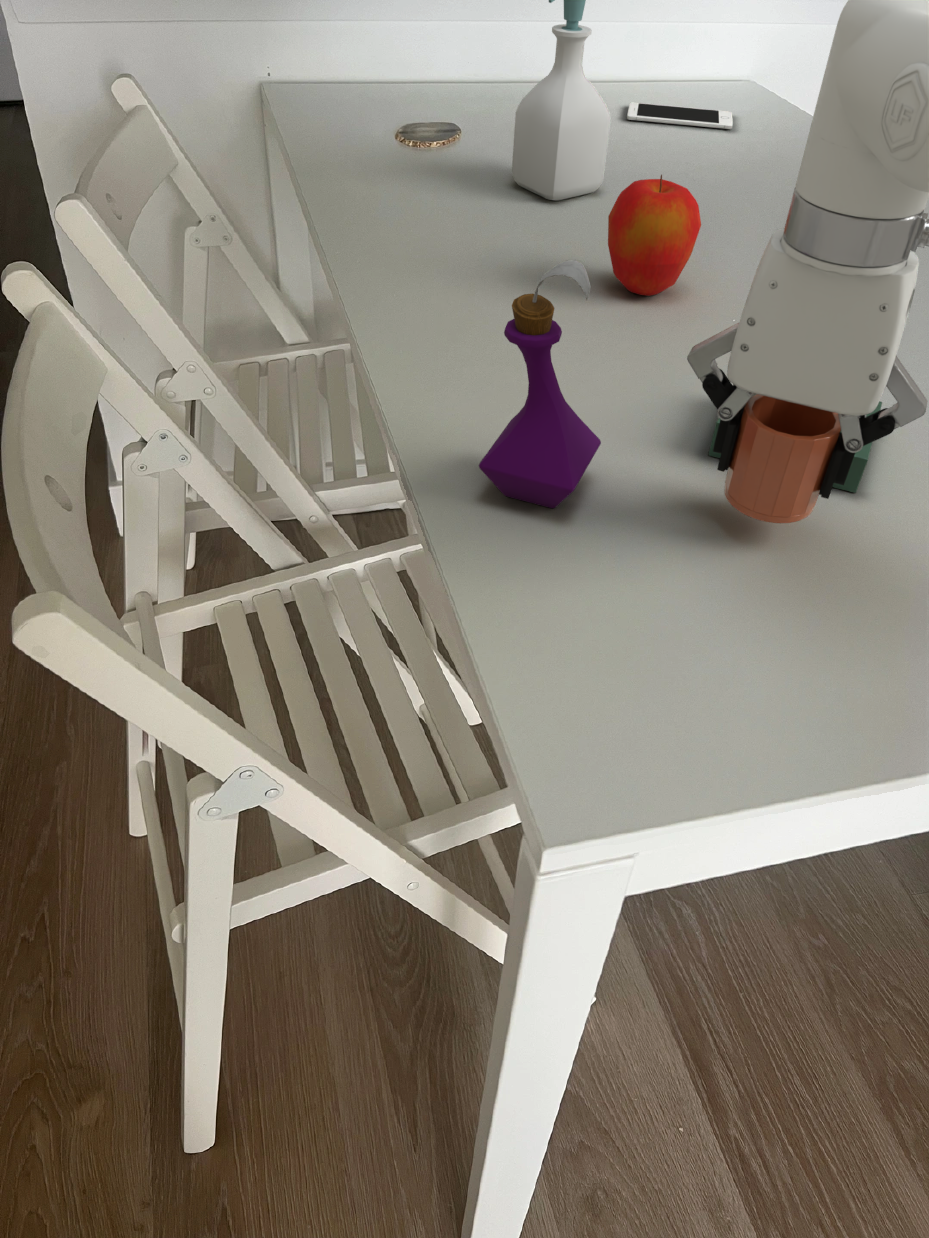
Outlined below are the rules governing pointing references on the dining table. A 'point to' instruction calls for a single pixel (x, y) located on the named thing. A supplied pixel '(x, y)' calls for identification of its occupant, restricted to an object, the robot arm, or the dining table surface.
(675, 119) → the cell phone
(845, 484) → the push button base
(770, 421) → the cup
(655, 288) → the apple
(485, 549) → the dining table surface
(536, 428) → the perfume bottle
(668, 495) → the dining table surface
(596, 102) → the soap bottle
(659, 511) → the dining table surface
